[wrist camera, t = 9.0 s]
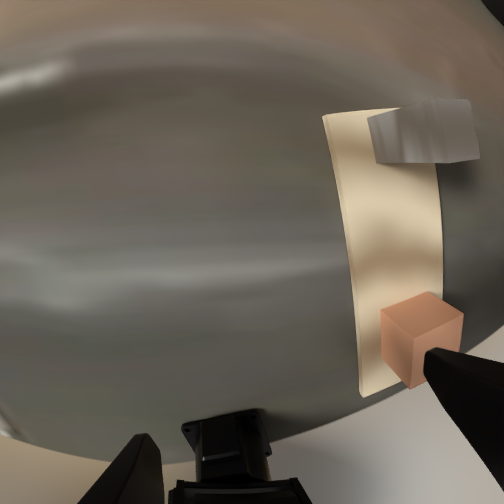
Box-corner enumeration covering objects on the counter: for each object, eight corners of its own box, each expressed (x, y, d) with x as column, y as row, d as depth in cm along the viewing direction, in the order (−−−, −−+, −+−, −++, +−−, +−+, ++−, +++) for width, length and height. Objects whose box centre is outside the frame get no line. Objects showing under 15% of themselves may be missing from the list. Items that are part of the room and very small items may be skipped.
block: (425, 338, 22) (456, 364, 18) (381, 357, 22) (409, 389, 18) (427, 291, 21) (463, 313, 17) (380, 309, 21) (414, 338, 16)
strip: (432, 359, 24) (481, 404, 17) (359, 392, 24) (400, 453, 16) (417, 108, 18) (494, 93, 11) (322, 116, 18) (387, 87, 10)
